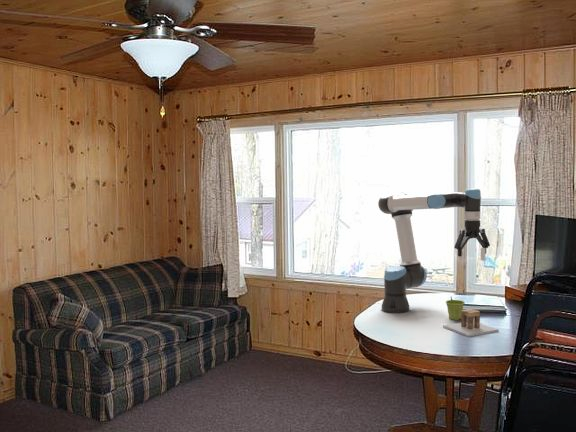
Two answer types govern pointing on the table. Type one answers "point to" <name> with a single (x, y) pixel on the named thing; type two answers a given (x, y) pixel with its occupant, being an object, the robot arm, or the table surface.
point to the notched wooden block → (470, 318)
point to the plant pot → (455, 309)
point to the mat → (470, 332)
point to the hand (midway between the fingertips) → (472, 261)
